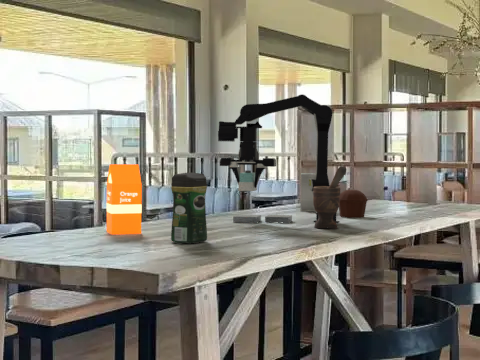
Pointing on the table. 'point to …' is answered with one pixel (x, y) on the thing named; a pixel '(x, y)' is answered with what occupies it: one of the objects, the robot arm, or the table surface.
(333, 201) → the mortar and pestle
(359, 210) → the muffin
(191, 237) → the coffee jar
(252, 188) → the housing
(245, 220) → the stand
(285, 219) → the stand
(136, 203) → the orange juice
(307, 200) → the circuit breaker
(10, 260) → the table surface
